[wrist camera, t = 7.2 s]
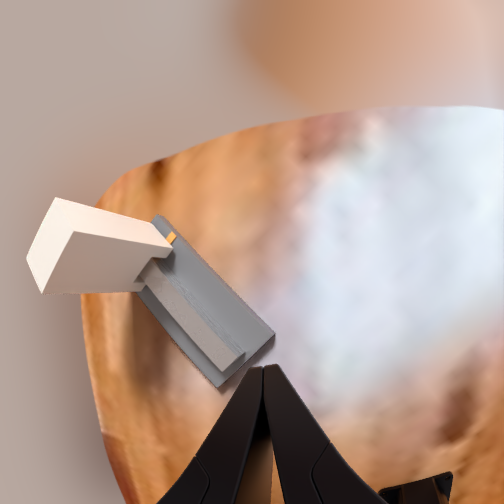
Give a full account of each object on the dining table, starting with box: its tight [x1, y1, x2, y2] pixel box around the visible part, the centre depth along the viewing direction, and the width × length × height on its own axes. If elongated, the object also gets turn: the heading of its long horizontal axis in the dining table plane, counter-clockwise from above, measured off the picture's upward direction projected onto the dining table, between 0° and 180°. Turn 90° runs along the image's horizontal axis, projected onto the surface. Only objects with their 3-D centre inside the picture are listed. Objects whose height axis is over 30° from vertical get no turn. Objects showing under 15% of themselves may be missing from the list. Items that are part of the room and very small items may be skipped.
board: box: [136, 214, 275, 388], centre depth 22 cm, size 13×6×1 cm, turn 47°
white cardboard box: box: [26, 197, 173, 294], centre depth 18 cm, size 3×5×10 cm, turn 137°
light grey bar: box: [139, 257, 245, 372], centre depth 21 cm, size 12×2×2 cm, turn 47°
